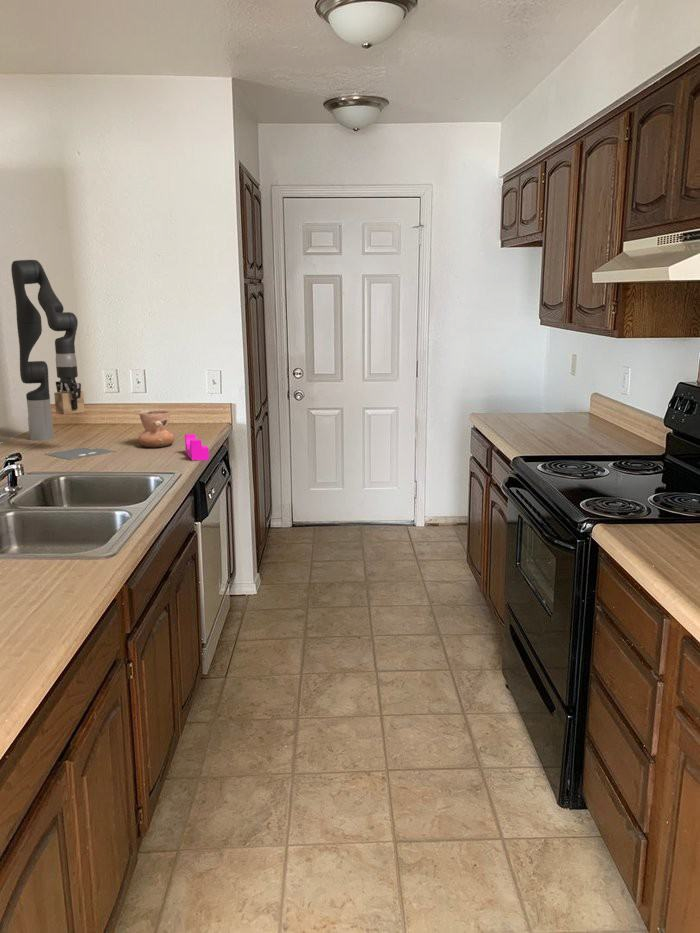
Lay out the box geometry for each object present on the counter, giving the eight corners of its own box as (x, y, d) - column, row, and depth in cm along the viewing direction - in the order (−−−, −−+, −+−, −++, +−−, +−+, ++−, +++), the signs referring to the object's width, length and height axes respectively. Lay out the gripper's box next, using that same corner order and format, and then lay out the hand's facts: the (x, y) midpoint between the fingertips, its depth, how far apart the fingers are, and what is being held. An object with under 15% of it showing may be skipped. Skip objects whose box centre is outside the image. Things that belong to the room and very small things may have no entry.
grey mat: (44, 454, 287) (44, 454, 287) (90, 446, 302) (90, 446, 302) (69, 459, 277) (69, 459, 277) (115, 451, 292) (115, 451, 292)
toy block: (209, 459, 277) (208, 439, 275) (192, 460, 275) (191, 441, 273) (201, 452, 291) (201, 433, 289) (185, 453, 288) (184, 434, 287)
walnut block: (56, 413, 287) (54, 392, 286) (76, 410, 294) (75, 390, 293) (63, 414, 284) (62, 393, 282) (84, 411, 291) (83, 391, 289)
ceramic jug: (178, 448, 298) (176, 413, 295) (141, 451, 293) (139, 415, 290) (170, 441, 314) (168, 407, 311) (135, 443, 309) (133, 409, 306)
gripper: (47, 365, 287) (51, 408, 290) (68, 366, 278) (72, 411, 282) (64, 363, 292) (68, 406, 296) (85, 365, 284) (89, 409, 287)
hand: (70, 408), depth 289 cm, fingers closed on walnut block, 5 cm apart
